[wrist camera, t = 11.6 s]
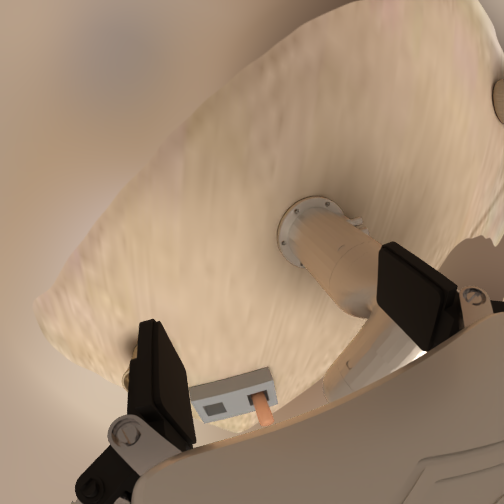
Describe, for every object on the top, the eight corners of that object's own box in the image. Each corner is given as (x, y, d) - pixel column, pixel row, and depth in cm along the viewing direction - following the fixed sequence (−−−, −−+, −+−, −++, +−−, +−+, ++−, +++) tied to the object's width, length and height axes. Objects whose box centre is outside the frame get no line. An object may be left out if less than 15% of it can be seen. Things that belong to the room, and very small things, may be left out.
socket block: (267, 366, 60) (273, 380, 57) (273, 391, 65) (278, 403, 61) (189, 387, 58) (190, 401, 54) (202, 410, 62) (204, 423, 59)
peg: (259, 379, 62) (273, 417, 52) (261, 386, 63) (274, 423, 53) (246, 383, 61) (259, 421, 51) (249, 390, 62) (261, 427, 53)
